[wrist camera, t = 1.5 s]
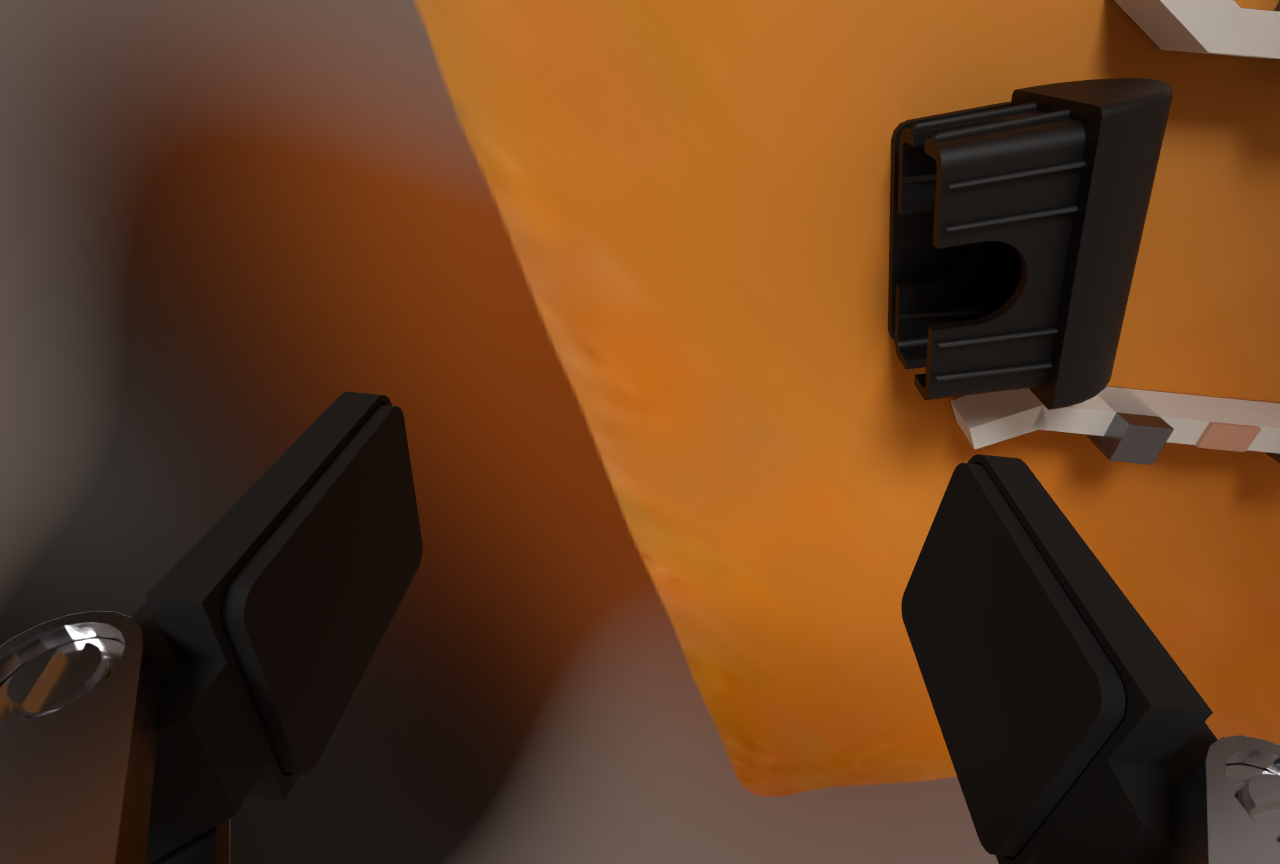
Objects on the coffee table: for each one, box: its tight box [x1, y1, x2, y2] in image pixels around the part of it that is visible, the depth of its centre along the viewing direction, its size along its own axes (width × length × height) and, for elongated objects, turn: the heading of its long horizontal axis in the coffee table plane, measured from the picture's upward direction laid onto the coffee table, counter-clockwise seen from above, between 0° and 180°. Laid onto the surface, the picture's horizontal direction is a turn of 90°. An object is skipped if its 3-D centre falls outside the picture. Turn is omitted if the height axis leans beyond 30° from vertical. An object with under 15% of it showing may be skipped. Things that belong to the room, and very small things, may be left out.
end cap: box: [888, 78, 1172, 410], centre depth 23 cm, size 10×7×7 cm
